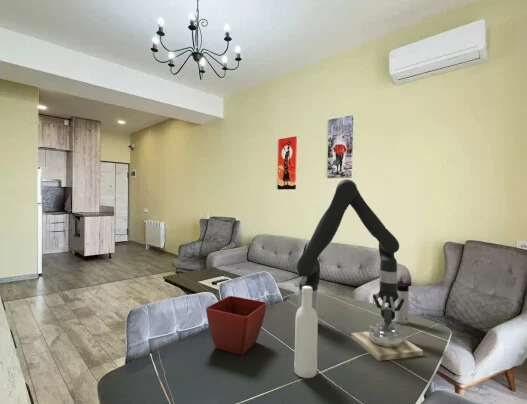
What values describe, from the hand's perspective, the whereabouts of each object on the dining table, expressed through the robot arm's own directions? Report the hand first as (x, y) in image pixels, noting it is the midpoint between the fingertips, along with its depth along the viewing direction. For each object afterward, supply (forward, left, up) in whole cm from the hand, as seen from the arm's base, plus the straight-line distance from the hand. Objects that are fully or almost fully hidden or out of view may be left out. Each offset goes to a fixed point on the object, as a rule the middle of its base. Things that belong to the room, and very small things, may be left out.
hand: (388, 318), depth 135 cm
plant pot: (-69, +4, -8) cm, 69 cm away
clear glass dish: (-5, -6, -6) cm, 10 cm away
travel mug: (+17, +12, -8) cm, 23 cm away
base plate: (-7, -8, -8) cm, 14 cm away
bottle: (-48, -20, -8) cm, 52 cm away
